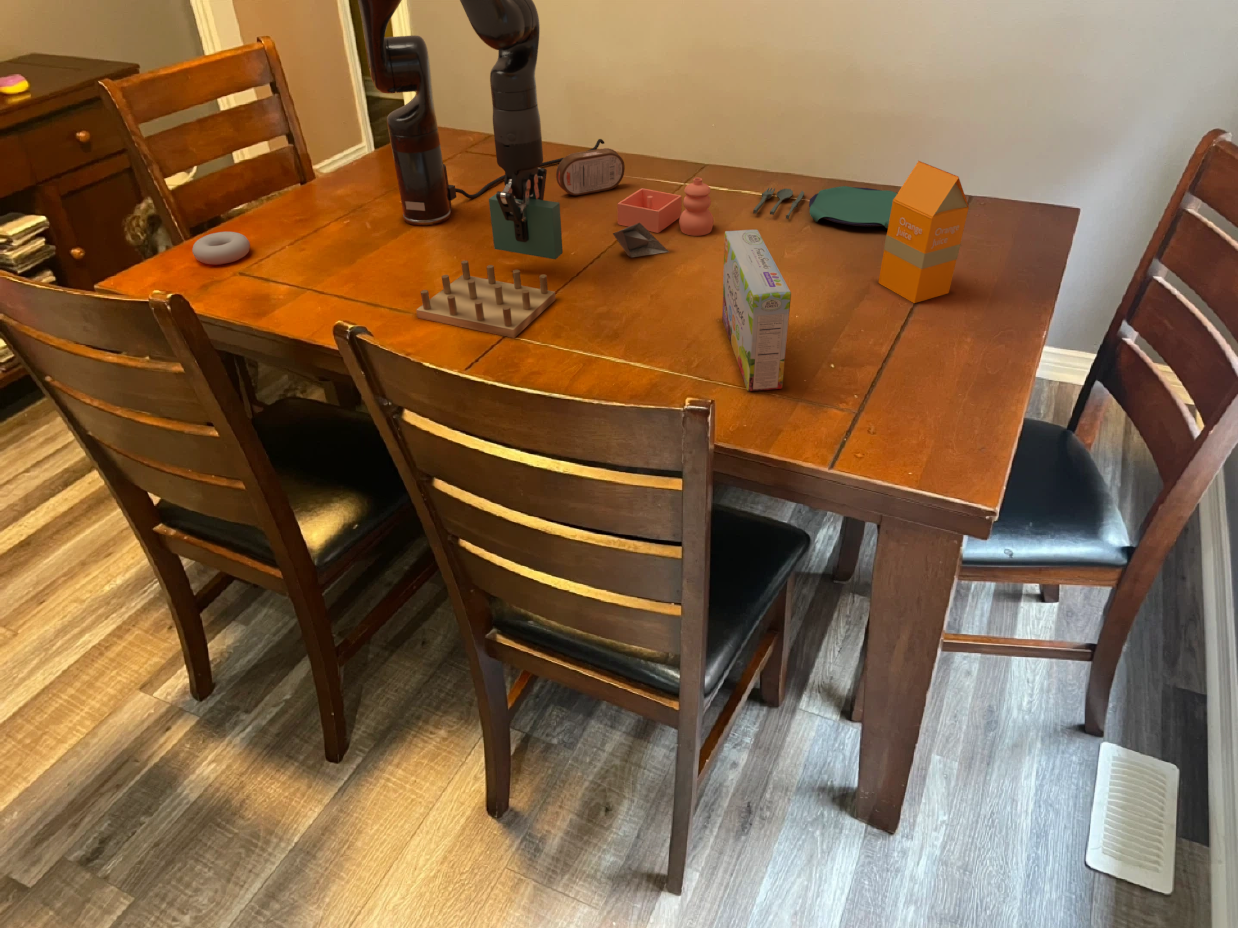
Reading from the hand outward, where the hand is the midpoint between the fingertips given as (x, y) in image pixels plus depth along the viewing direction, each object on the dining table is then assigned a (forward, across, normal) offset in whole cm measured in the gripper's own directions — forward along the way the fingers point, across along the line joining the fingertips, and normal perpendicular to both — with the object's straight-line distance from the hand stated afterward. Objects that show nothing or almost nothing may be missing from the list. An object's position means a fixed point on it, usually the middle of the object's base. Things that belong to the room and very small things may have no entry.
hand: (527, 236), depth 147 cm
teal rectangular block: (+3, 0, 0) cm, 3 cm away
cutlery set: (+7, -47, +44) cm, 64 cm away
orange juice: (+7, -18, +63) cm, 66 cm away
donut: (+7, +14, -57) cm, 59 cm away
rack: (+7, +15, 0) cm, 16 cm away
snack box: (+7, +13, +44) cm, 46 cm away
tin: (+7, -40, -6) cm, 42 cm away
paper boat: (+7, -13, +15) cm, 21 cm away
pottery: (+7, -29, +15) cm, 34 cm away
